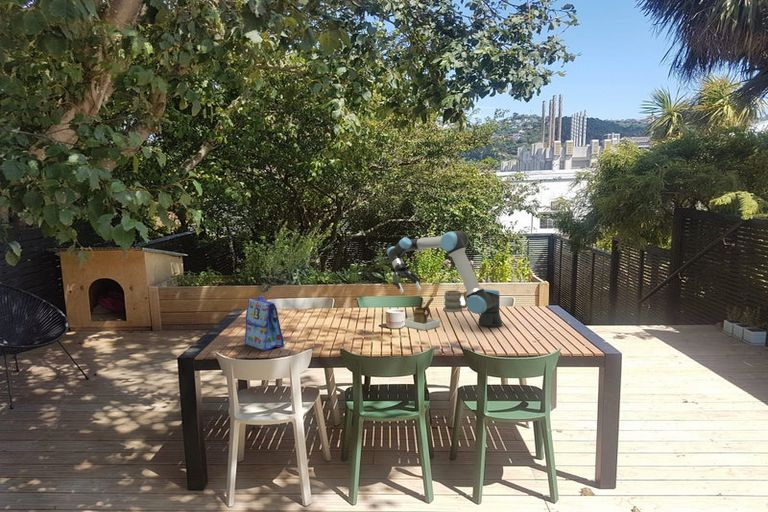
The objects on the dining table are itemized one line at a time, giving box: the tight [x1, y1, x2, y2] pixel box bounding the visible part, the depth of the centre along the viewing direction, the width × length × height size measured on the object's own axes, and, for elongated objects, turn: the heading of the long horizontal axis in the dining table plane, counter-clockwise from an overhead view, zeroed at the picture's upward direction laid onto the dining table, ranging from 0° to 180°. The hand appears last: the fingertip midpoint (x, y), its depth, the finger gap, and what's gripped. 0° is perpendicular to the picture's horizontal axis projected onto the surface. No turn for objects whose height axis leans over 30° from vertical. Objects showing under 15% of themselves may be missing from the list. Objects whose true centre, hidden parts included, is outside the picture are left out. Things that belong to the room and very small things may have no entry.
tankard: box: [443, 290, 468, 313], centre depth 390 cm, size 20×13×15 cm, turn 73°
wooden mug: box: [413, 298, 434, 324], centre depth 344 cm, size 9×14×18 cm, turn 66°
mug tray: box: [403, 316, 441, 332], centre depth 344 cm, size 20×15×4 cm
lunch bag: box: [244, 295, 285, 352], centre depth 305 cm, size 22×14×29 cm, turn 45°
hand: (411, 291), depth 351 cm, fingers open, 13 cm apart
